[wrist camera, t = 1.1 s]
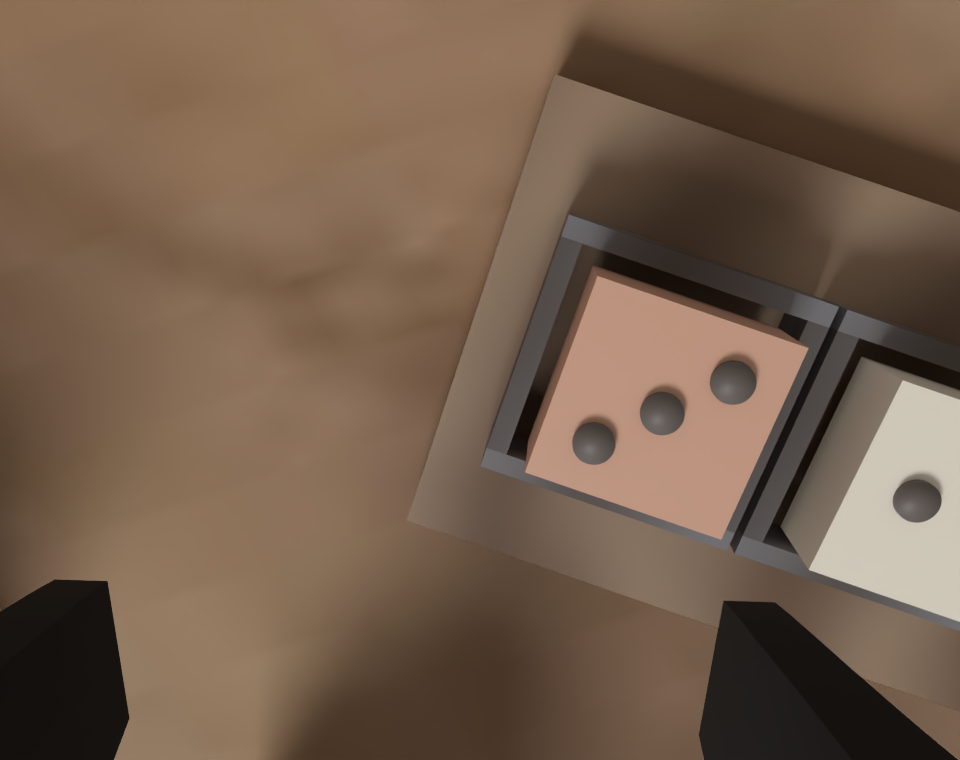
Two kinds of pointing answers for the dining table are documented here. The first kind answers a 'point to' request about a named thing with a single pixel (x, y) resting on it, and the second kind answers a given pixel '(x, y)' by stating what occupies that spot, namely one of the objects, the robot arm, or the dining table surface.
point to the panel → (721, 283)
